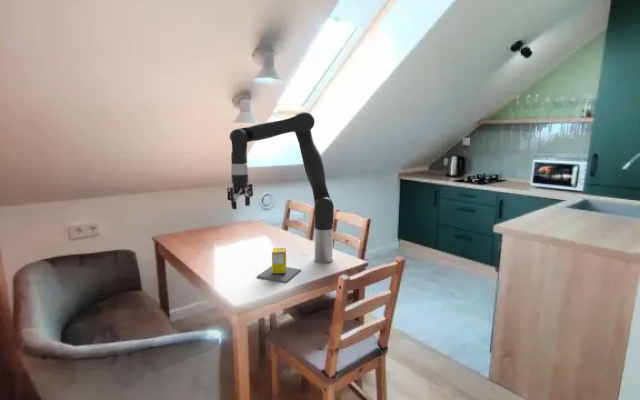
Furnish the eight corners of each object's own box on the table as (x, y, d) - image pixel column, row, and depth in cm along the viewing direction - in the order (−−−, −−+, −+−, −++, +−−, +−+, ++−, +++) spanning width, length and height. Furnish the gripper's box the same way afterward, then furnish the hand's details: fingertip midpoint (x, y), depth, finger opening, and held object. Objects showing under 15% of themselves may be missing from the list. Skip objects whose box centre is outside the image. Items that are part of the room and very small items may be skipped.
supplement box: (286, 269, 175) (286, 247, 173) (285, 275, 169) (285, 252, 167) (273, 269, 175) (273, 247, 173) (272, 274, 169) (271, 252, 167)
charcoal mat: (273, 266, 181) (273, 264, 181) (301, 270, 176) (301, 269, 176) (257, 277, 168) (257, 276, 168) (286, 283, 162) (286, 281, 162)
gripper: (244, 171, 178) (245, 203, 181) (222, 174, 166) (224, 209, 169) (256, 172, 174) (257, 205, 177) (234, 175, 162) (235, 211, 165)
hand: (241, 207), depth 173 cm, fingers open, 8 cm apart
